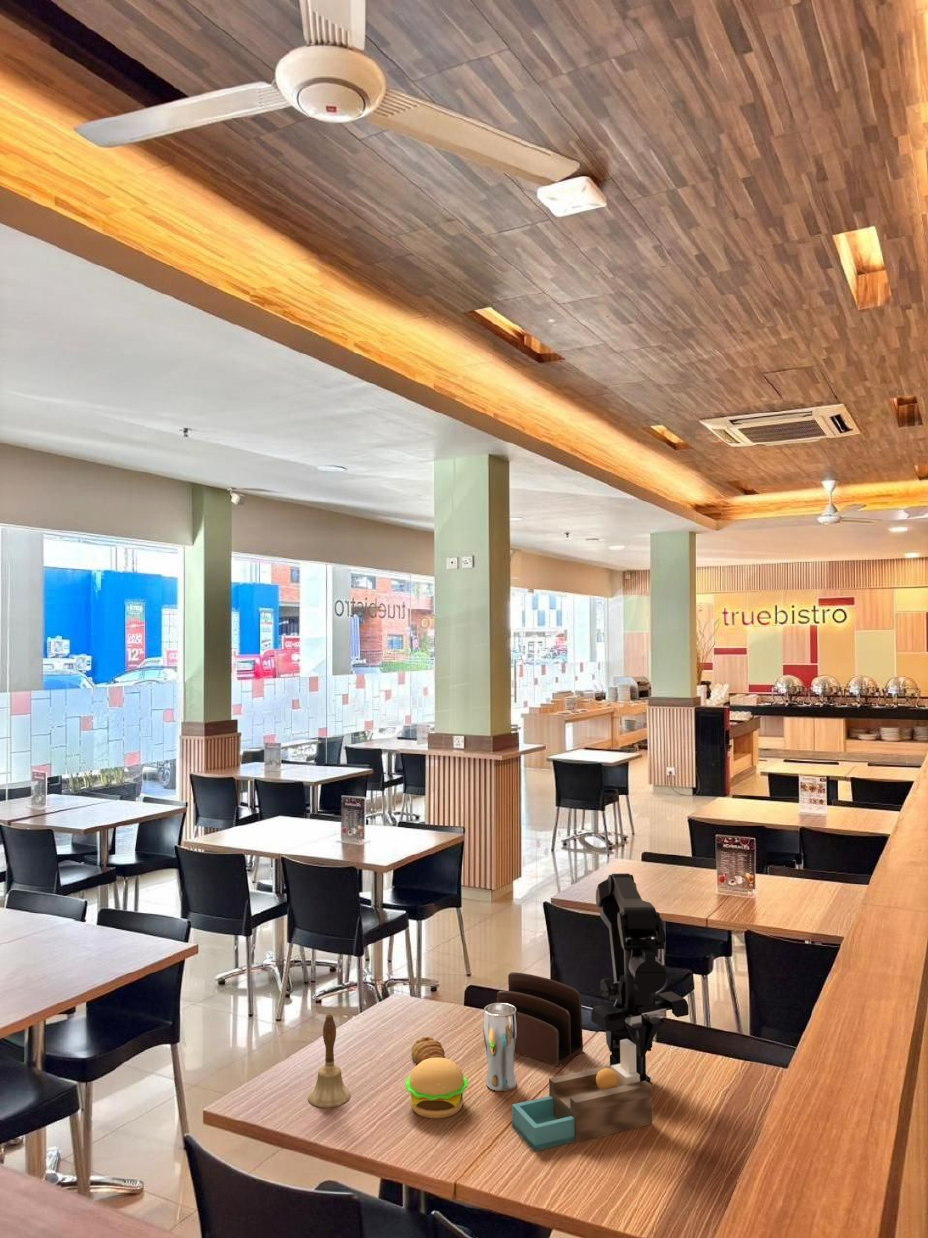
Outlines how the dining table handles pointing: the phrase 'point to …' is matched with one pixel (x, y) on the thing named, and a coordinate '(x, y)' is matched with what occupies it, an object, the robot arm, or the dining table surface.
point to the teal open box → (542, 1124)
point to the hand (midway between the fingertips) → (641, 1056)
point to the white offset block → (626, 1064)
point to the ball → (606, 1079)
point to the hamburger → (436, 1088)
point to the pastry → (427, 1049)
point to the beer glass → (500, 1045)
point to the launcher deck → (600, 1104)
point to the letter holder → (545, 1017)
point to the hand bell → (329, 1074)
